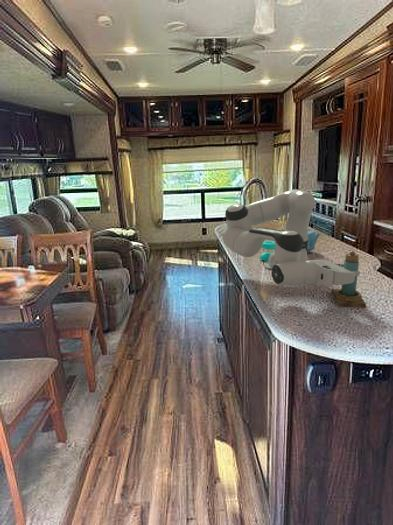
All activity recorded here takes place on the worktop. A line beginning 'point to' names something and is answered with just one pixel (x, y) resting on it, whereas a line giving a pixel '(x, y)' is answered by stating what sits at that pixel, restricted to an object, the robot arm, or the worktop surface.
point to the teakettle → (312, 239)
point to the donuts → (269, 246)
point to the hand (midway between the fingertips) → (350, 269)
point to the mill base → (348, 299)
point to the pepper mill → (350, 264)
